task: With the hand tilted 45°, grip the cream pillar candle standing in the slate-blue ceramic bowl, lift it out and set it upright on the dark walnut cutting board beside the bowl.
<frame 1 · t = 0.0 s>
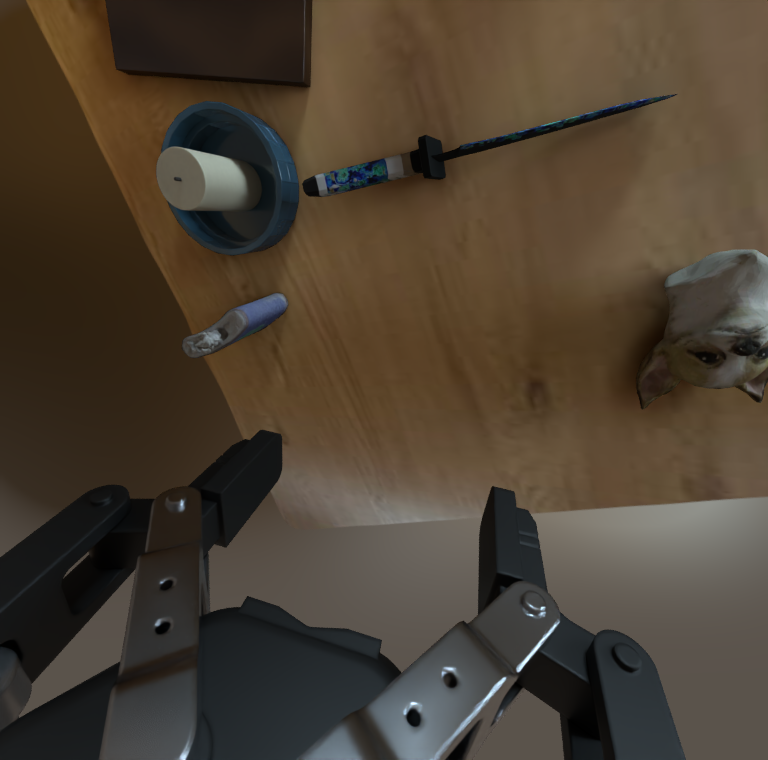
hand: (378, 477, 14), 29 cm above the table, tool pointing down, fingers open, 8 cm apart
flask: (260, 315, 46), on the table
knife: (474, 154, 34), on the table
ceramic sculpture: (692, 324, 35), on the table
bowl: (243, 186, 40), on the table
candle: (241, 186, 40), resting on bowl
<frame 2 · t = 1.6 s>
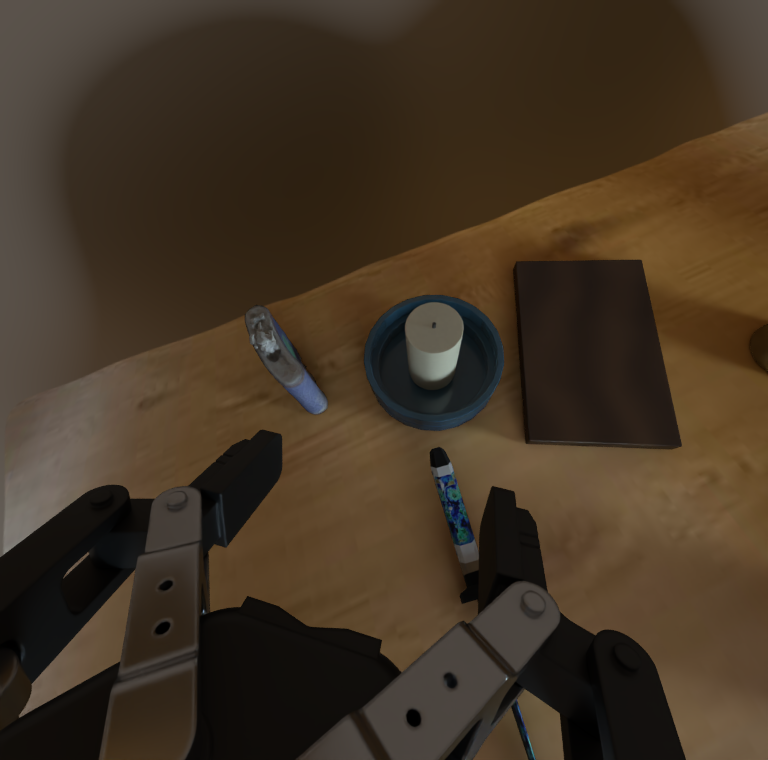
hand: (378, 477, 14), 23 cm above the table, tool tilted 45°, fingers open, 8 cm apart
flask: (301, 380, 41), on the table
knife: (488, 635, 31), on the table
bowl: (431, 369, 40), on the table
cutting board: (583, 349, 39), on the table
candle: (431, 368, 39), resting on bowl
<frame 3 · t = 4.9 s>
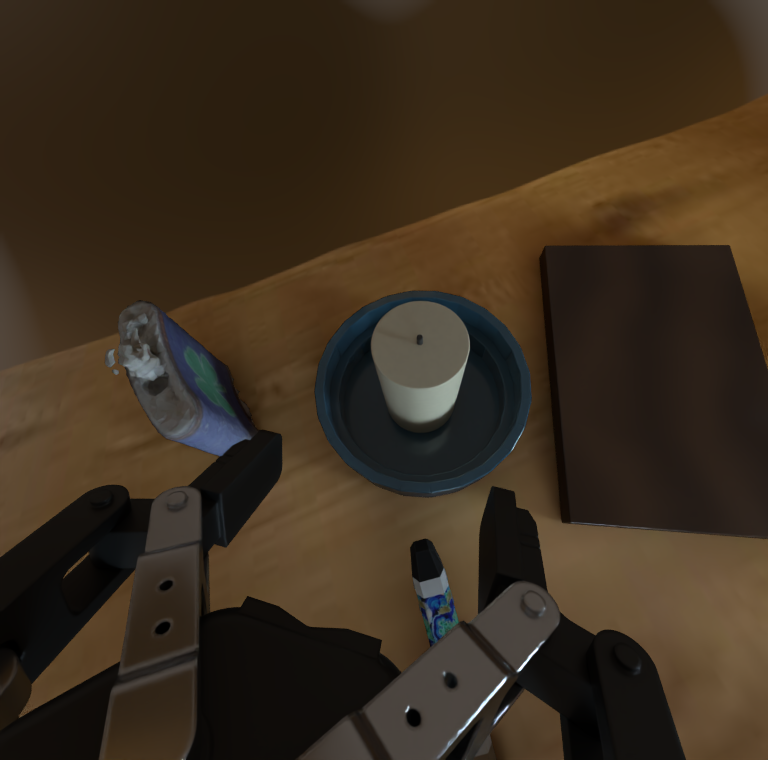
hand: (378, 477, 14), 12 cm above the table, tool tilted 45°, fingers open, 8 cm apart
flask: (231, 412, 28), on the table
bowl: (420, 401, 27), on the table
cutting board: (646, 376, 26), on the table
candle: (420, 399, 27), resting on bowl
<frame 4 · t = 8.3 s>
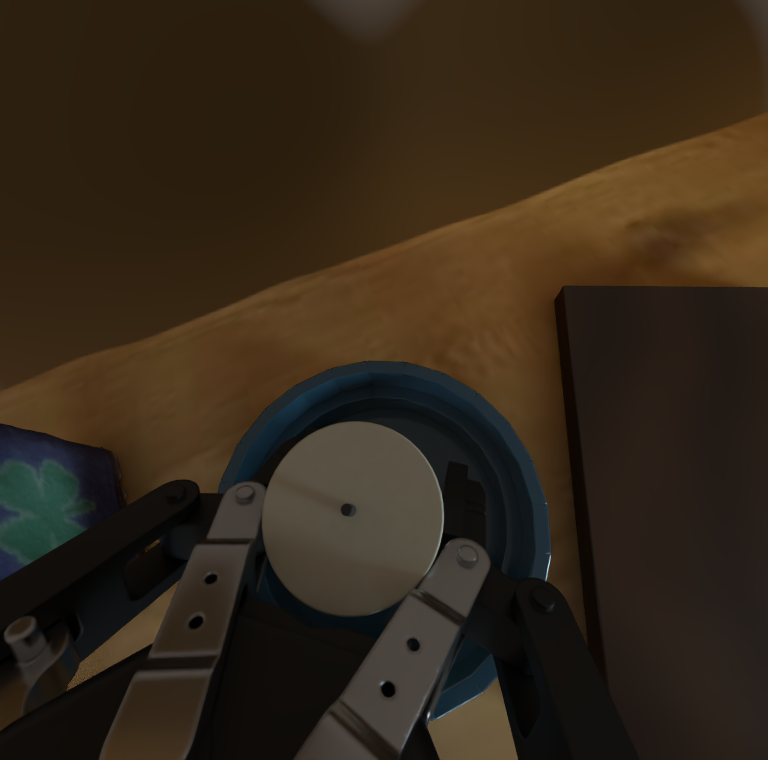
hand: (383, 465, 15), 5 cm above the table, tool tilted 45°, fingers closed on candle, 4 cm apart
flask: (115, 526, 20), on the table
bowl: (383, 517, 18), on the table
cutting board: (716, 485, 18), on the table
candle: (382, 516, 18), resting on bowl, touching gripper
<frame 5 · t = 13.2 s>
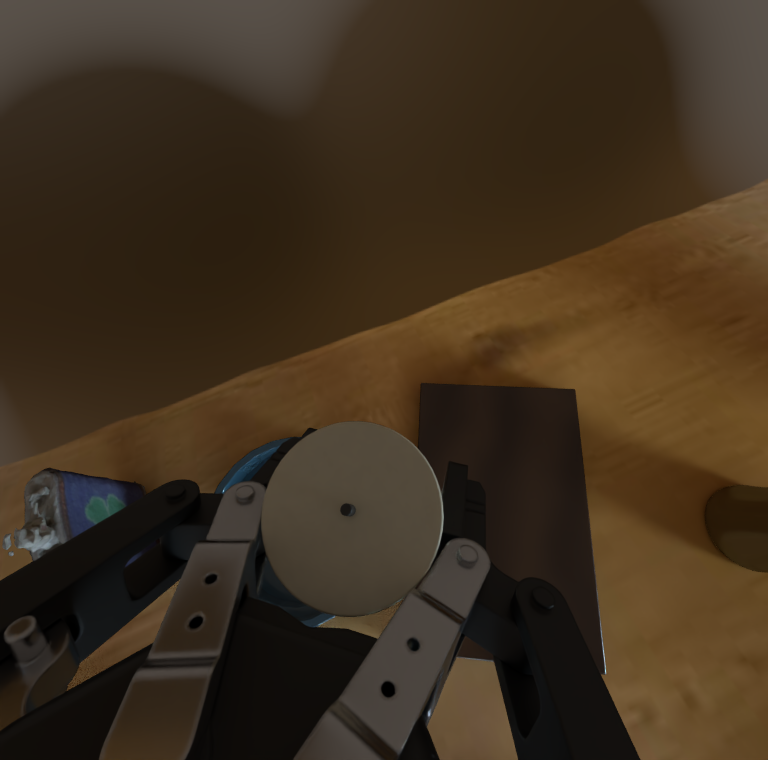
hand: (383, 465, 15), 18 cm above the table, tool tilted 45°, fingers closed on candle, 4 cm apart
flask: (144, 531, 32), on the table
bowl: (305, 526, 31), on the table
cutting board: (496, 508, 30), on the table
candle: (382, 516, 18), point 13 cm above the table, touching gripper
beer glass: (746, 527, 29), on the table
when the fingers open (6 cm above the table, at t = 18.2 s): candle stays where it is, resting on cutting board.
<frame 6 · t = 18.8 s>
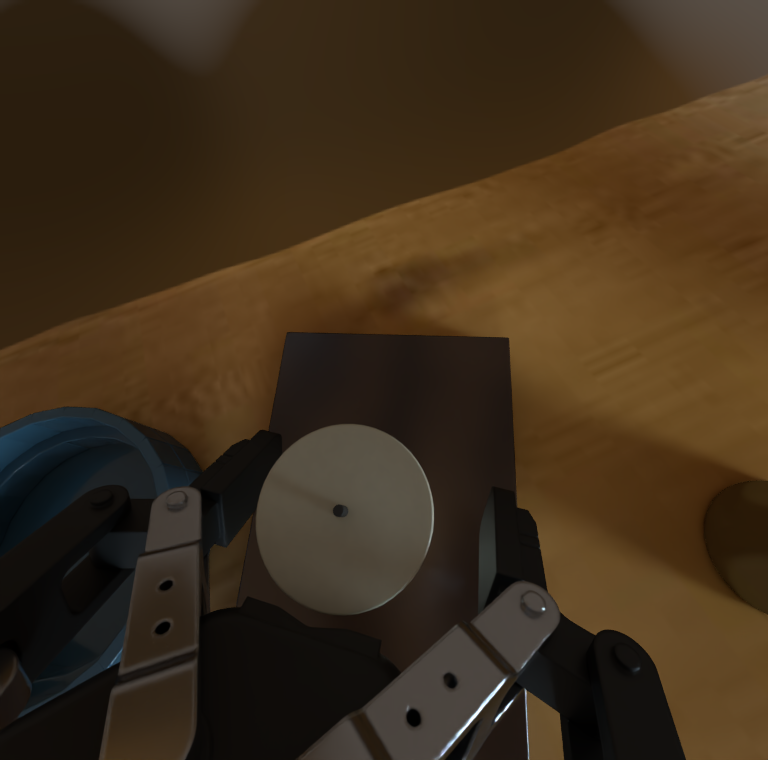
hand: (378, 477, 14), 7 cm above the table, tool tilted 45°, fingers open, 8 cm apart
bowl: (98, 543, 21), on the table
cutting board: (383, 517, 20), on the table
candle: (377, 517, 18), point 1 cm above the table, touching cutting board
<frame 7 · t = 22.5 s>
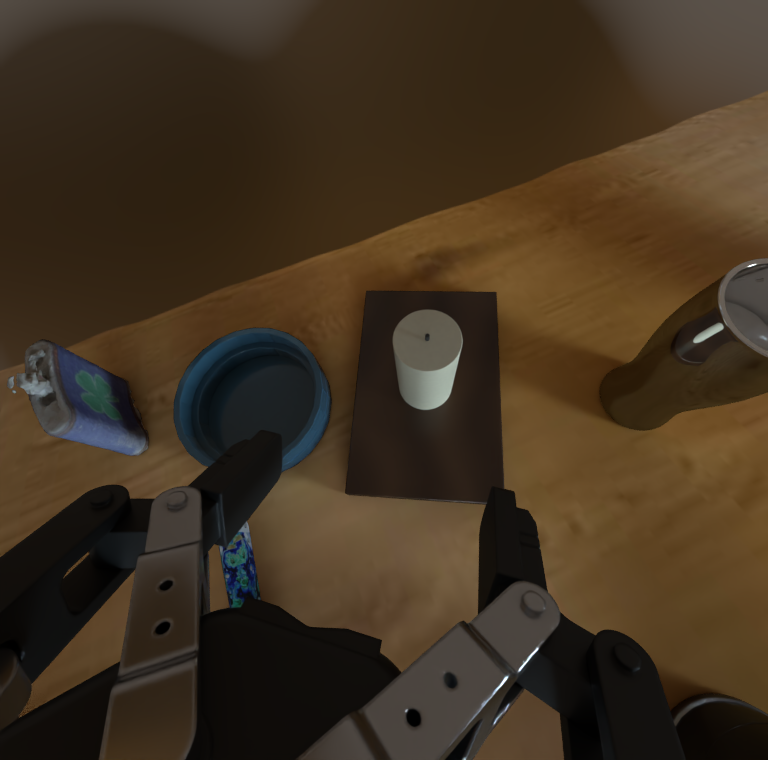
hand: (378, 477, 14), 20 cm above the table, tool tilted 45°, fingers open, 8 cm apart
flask: (128, 416, 37), on the table
knife: (272, 716, 28), on the table
bowl: (264, 407, 36), on the table
cutting board: (426, 389, 36), on the table
candle: (425, 384, 34), point 1 cm above the table, touching cutting board
beer glass: (633, 398, 34), on the table
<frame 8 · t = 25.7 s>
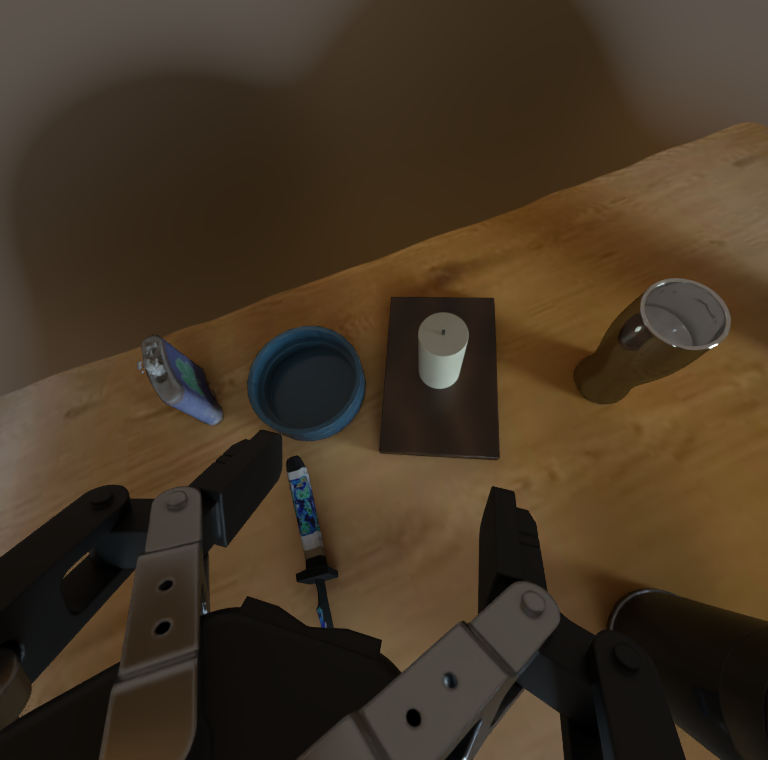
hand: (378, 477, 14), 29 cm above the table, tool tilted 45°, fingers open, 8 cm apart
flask: (204, 395, 48), on the table
knife: (329, 610, 38), on the table
bowl: (313, 388, 47), on the table
cutting board: (439, 374, 46), on the table
candle: (439, 369, 44), point 1 cm above the table, touching cutting board
beer glass: (599, 380, 44), on the table
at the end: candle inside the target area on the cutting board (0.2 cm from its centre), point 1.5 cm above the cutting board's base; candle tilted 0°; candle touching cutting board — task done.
